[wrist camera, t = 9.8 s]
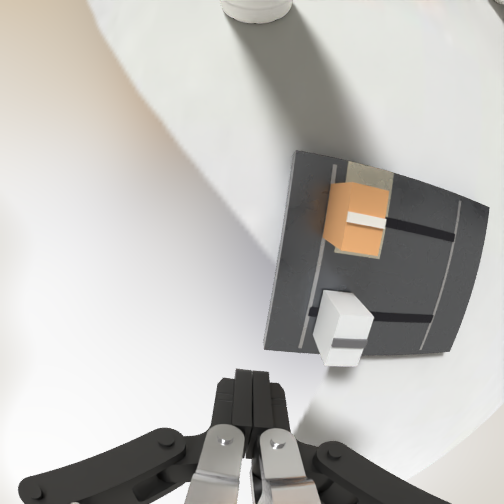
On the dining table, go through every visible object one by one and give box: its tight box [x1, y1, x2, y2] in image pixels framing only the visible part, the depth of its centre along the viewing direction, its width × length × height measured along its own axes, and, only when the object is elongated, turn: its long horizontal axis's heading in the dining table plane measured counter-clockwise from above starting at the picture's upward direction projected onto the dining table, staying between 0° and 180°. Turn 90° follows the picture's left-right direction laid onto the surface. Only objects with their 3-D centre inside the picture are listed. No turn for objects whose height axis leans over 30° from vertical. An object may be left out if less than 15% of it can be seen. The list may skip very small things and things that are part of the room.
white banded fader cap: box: [313, 290, 374, 366], centre depth 19 cm, size 2×4×5 cm, turn 172°
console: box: [264, 150, 489, 355], centre depth 21 cm, size 21×16×2 cm
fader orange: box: [323, 182, 389, 256], centre depth 17 cm, size 2×4×5 cm, turn 172°
